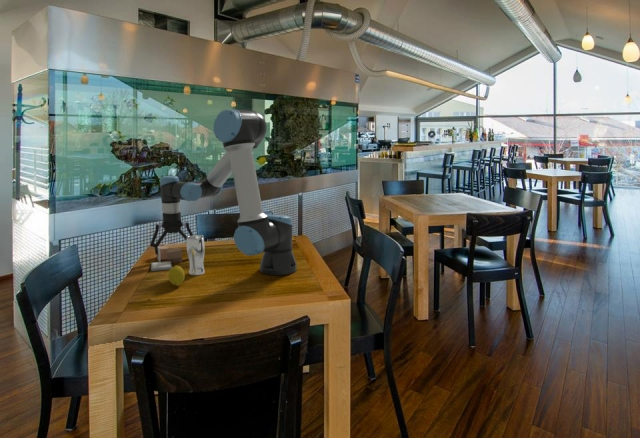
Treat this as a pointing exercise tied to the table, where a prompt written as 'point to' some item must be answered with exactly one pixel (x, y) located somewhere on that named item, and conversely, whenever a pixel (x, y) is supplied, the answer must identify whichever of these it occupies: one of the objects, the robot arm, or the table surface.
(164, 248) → the terracotta cube
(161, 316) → the table surface
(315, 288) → the table surface
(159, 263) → the slate picture frame
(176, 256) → the walnut block
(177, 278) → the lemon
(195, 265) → the beer glass
